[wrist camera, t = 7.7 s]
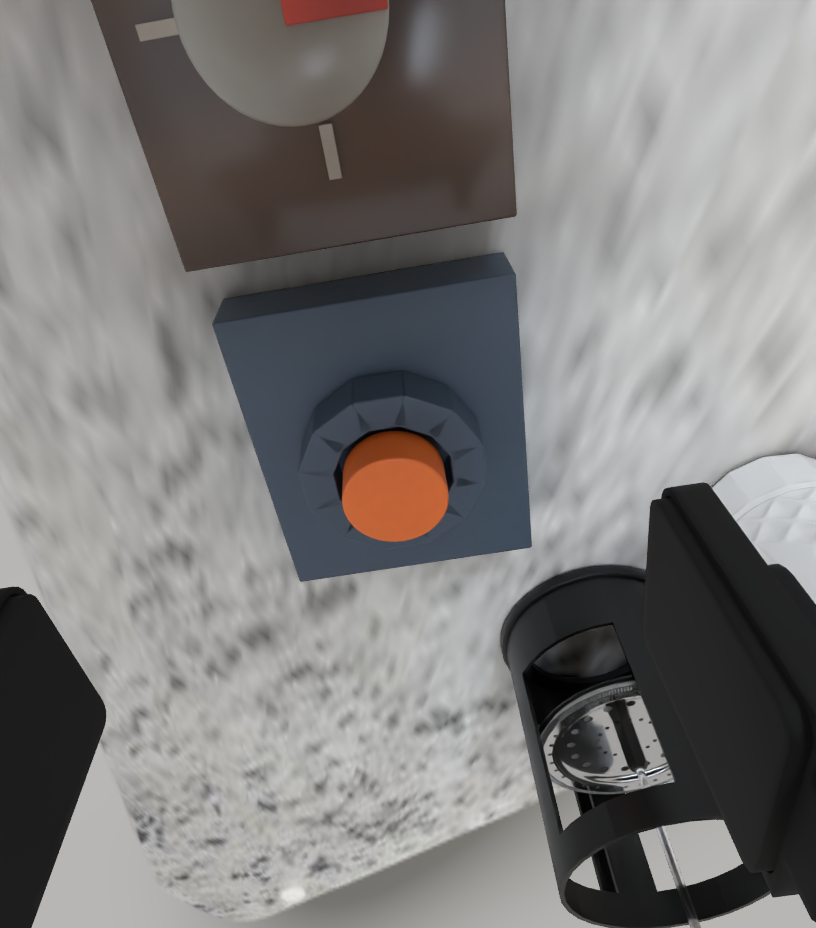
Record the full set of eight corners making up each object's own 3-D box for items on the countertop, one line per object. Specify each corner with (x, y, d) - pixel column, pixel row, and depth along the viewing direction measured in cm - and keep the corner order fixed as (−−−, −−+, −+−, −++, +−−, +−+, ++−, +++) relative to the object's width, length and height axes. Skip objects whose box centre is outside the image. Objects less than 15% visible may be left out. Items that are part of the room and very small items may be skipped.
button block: (222, 298, 24) (200, 347, 21) (504, 251, 23) (527, 293, 20) (303, 548, 31) (296, 614, 28) (522, 514, 30) (541, 578, 27)
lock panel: (39, -268, 16) (-24, -318, 13) (463, -354, 15) (483, -424, 13) (204, 242, 23) (184, 274, 20) (500, 191, 22) (518, 218, 20)
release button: (333, 438, 23) (331, 468, 22) (437, 422, 23) (442, 450, 22) (353, 518, 25) (353, 549, 24) (449, 503, 25) (454, 534, 24)
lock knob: (243, 107, 18) (205, 144, 13) (194, -88, 16) (130, -116, 11) (393, 82, 18) (403, 112, 13) (367, -117, 15) (369, -160, 11)
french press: (516, 553, 32) (742, 1377, 13) (709, 554, 32) (1188, 1334, 14) (485, 707, 38) (603, 1396, 20) (645, 705, 39) (907, 1366, 20)
